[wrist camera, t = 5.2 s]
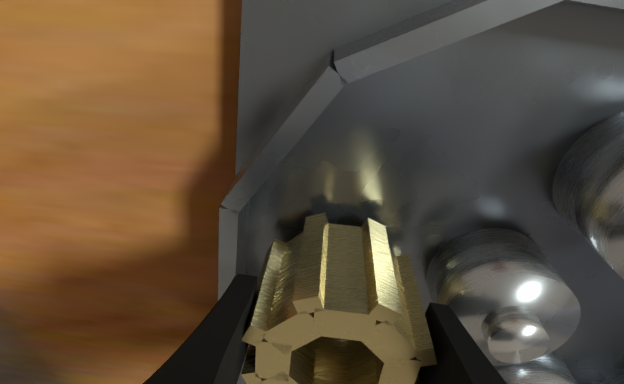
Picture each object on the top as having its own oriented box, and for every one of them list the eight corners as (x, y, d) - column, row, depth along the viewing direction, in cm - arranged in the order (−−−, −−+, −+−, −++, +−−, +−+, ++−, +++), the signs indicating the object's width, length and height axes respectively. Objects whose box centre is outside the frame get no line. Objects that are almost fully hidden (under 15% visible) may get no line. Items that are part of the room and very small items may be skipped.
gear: (425, 223, 12) (458, 313, 9) (393, 332, 15) (409, 434, 12) (268, 206, 13) (240, 286, 9) (264, 317, 15) (241, 413, 12)
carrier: (935, 41, 11) (1323, 80, 6) (581, 414, 21) (642, 523, 16) (254, -73, 10) (197, -110, 6) (232, 364, 20) (205, 462, 16)
